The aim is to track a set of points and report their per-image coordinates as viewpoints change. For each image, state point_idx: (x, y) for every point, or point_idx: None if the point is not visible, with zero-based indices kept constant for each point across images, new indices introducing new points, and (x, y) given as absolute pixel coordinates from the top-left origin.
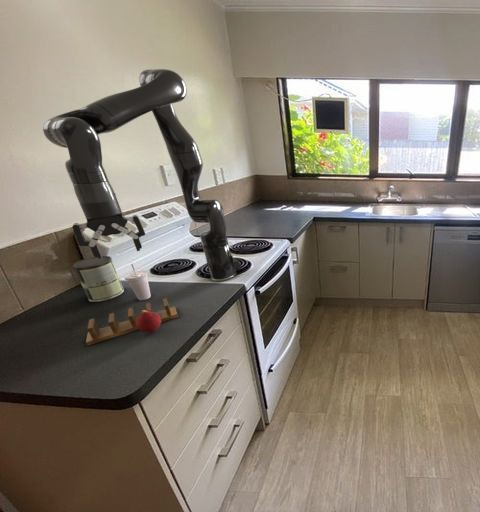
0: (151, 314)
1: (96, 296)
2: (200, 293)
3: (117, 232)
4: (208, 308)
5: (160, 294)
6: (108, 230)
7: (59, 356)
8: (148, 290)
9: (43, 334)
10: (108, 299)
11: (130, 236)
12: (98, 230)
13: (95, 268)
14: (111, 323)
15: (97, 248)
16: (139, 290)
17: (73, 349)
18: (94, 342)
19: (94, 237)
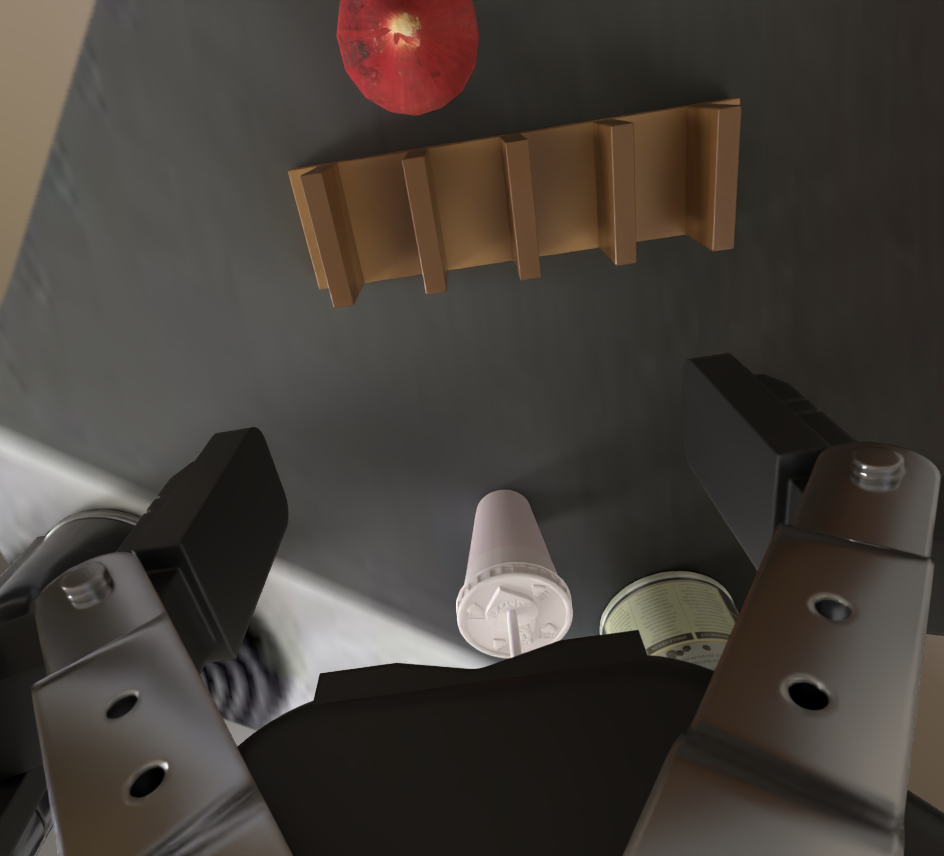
0: (364, 5)
1: (705, 593)
2: (215, 417)
3: (337, 710)
4: (120, 180)
5: (432, 511)
6: (530, 791)
7: (848, 56)
8: (475, 528)
9: (898, 364)
10: (658, 573)
11: (154, 597)
12: (842, 782)
13: None
14: (618, 122)
15: (759, 430)
16: (511, 523)
17: (790, 99)
18: (700, 103)
19: (889, 561)
